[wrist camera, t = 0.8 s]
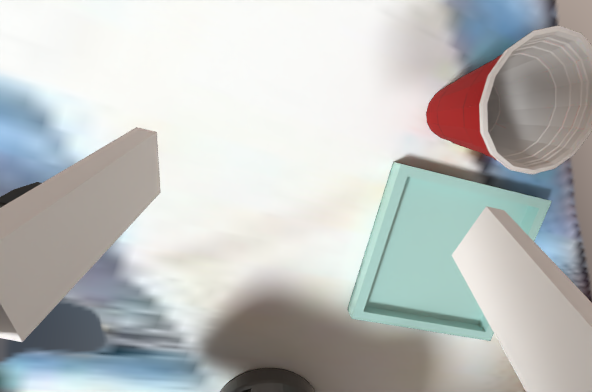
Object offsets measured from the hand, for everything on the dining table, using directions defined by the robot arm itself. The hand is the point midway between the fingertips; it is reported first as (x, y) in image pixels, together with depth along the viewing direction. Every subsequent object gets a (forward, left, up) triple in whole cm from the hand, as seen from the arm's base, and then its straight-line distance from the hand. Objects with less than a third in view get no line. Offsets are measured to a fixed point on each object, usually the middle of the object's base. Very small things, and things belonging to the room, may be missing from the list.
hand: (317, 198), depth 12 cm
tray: (-8, -23, -21) cm, 32 cm away
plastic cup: (+9, -18, -22) cm, 29 cm away
